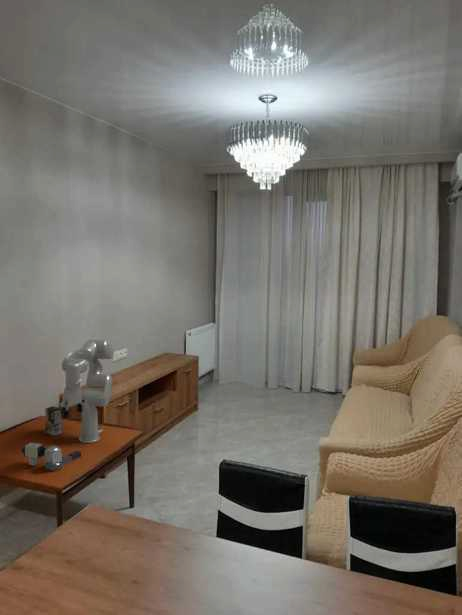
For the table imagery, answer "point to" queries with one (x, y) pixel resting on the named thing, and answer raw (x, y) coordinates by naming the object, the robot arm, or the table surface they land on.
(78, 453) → the ratchet
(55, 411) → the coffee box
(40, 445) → the pneumatic valve
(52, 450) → the domed grey cube
